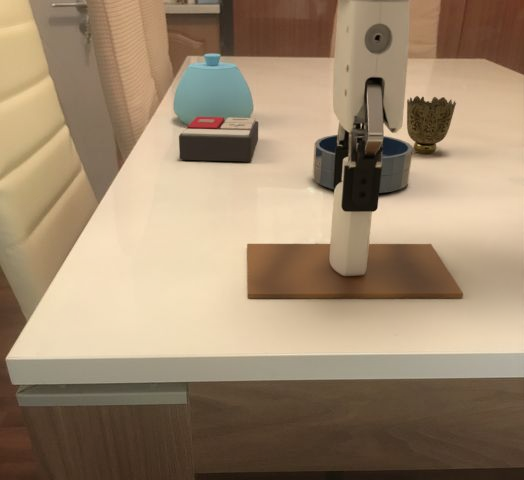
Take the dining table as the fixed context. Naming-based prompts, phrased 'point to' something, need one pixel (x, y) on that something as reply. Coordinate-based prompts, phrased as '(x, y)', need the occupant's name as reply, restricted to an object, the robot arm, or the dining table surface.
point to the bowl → (393, 166)
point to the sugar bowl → (212, 91)
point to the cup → (428, 122)
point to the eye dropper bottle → (349, 236)
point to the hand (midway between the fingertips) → (353, 197)
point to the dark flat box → (219, 139)
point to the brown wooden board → (338, 286)
